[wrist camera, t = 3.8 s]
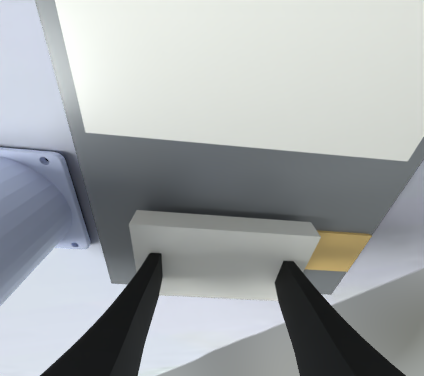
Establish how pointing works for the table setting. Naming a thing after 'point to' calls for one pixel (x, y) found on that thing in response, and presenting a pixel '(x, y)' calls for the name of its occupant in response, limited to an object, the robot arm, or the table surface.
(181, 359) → the table surface
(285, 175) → the switch panel
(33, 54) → the table surface
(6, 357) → the table surface
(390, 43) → the switch
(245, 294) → the switch
